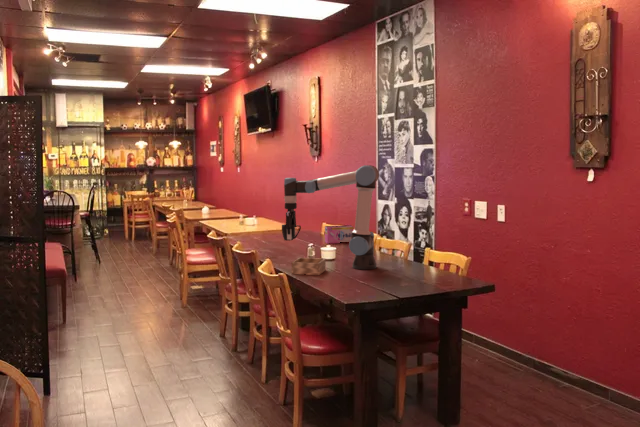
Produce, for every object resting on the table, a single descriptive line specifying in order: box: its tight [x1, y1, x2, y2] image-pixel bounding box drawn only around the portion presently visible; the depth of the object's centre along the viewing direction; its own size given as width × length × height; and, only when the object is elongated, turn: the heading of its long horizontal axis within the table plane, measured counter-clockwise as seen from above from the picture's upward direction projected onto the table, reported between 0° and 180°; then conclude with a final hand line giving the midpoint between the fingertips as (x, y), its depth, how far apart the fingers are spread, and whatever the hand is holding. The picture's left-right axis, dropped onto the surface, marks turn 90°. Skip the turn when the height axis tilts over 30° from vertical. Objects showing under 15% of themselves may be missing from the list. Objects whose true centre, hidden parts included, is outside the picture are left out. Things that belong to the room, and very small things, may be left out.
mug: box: [281, 223, 302, 242], centre depth 370 cm, size 8×12×10 cm
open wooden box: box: [291, 257, 327, 276], centre depth 359 cm, size 17×17×7 cm
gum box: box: [324, 224, 355, 244], centre depth 484 cm, size 24×8×14 cm, turn 106°
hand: (291, 238), depth 370 cm, fingers closed on mug, 8 cm apart
